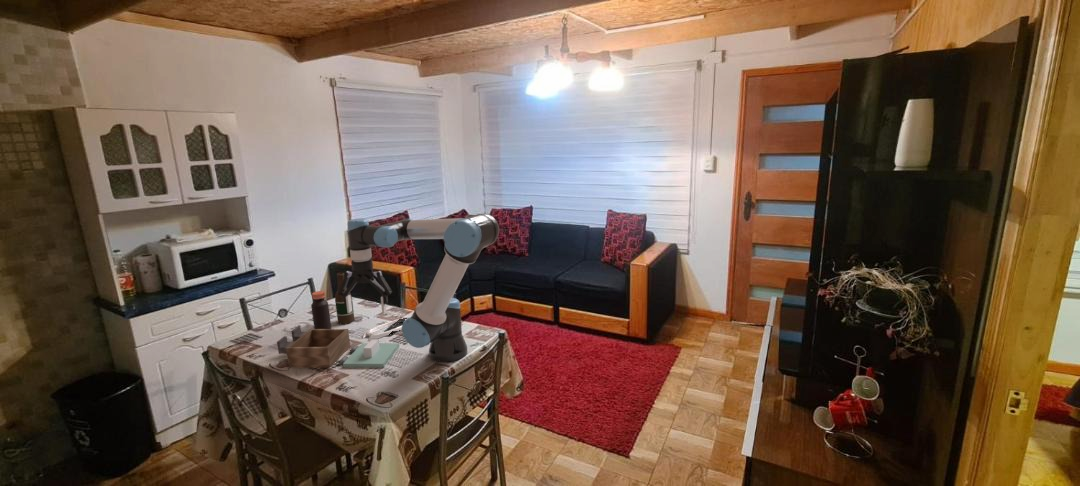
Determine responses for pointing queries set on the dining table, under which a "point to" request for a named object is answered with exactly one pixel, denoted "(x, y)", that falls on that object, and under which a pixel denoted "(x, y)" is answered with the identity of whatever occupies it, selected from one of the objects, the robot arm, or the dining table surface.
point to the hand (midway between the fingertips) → (367, 311)
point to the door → (369, 355)
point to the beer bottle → (342, 304)
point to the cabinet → (314, 347)
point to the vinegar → (320, 311)
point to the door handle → (376, 335)
